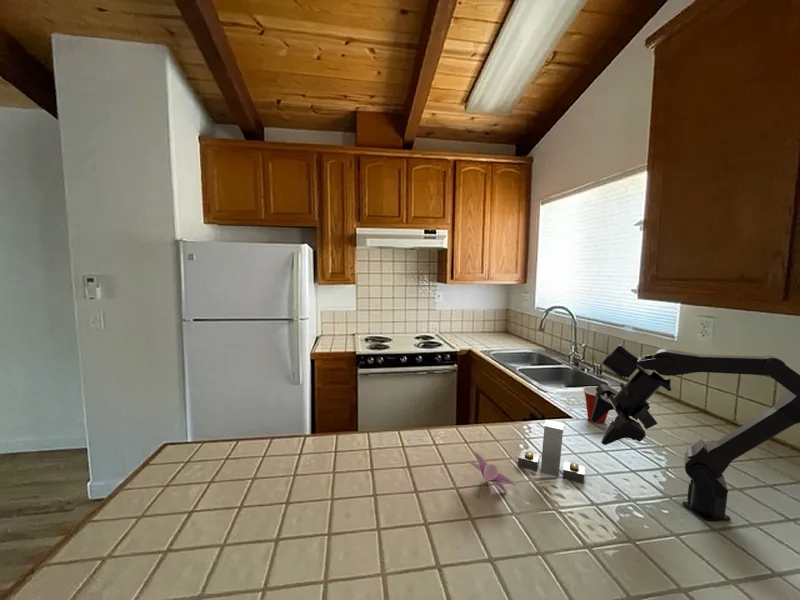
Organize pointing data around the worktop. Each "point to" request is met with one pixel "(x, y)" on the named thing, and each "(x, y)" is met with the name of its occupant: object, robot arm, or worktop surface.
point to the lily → (490, 473)
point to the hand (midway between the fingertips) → (597, 432)
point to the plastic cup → (592, 402)
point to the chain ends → (569, 471)
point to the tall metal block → (552, 448)
